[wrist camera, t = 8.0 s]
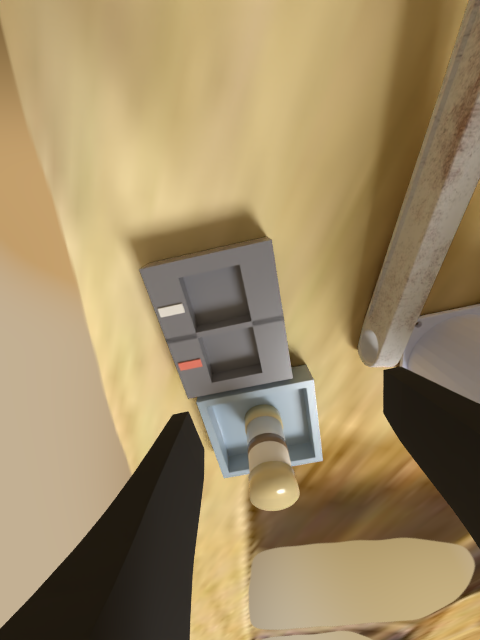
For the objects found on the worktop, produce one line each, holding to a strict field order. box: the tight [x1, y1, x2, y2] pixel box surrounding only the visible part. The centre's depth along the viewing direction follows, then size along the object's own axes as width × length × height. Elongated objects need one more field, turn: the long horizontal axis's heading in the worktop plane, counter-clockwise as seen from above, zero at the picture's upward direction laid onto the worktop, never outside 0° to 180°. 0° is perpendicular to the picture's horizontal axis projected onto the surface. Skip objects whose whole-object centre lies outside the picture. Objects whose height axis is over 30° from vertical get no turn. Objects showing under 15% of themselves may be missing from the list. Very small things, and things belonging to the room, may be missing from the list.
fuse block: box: [139, 237, 293, 399], centre depth 17 cm, size 8×10×2 cm
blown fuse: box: [244, 404, 299, 511], centre depth 19 cm, size 3×3×6 cm
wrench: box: [358, 0, 480, 367], centre depth 12 cm, size 8×2×30 cm
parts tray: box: [196, 365, 323, 478], centre depth 21 cm, size 9×9×2 cm
